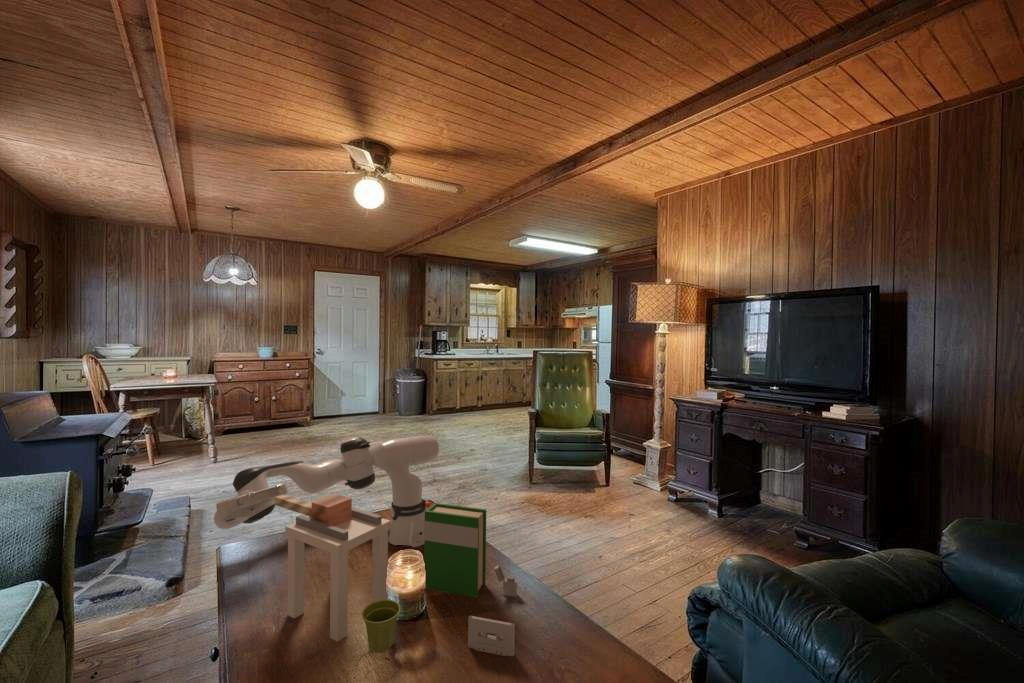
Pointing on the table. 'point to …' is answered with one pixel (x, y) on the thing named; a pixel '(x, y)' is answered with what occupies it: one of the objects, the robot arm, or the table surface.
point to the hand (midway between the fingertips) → (266, 491)
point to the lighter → (507, 583)
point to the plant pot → (381, 624)
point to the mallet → (320, 508)
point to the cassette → (491, 636)
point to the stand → (336, 561)
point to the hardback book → (455, 549)
